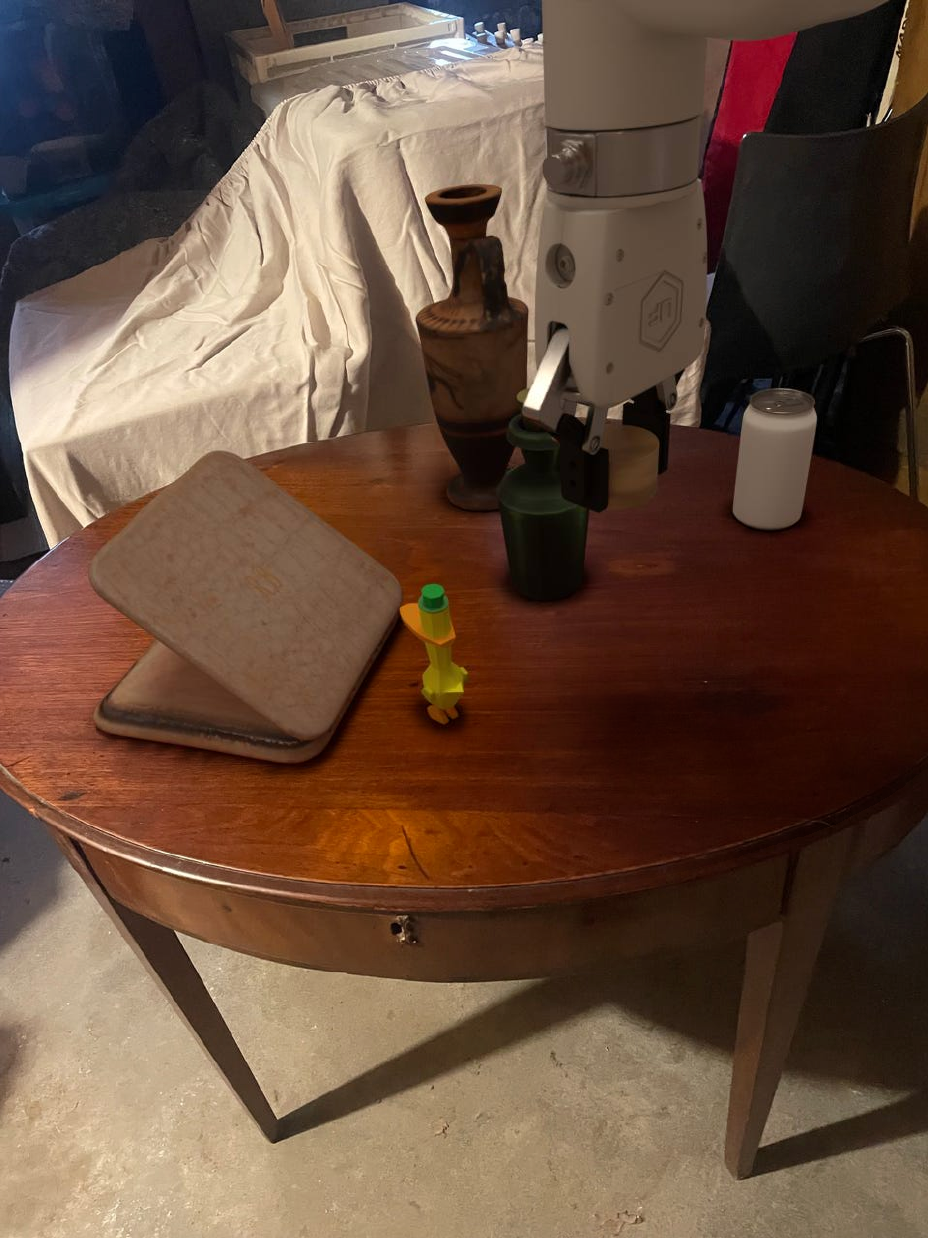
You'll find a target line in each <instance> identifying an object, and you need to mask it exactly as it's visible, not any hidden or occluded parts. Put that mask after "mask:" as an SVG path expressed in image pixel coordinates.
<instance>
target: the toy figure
mask: <svg viewBox="0 0 928 1238" xmlns="http://www.w3.org/2000/svg"><path fill="white" fill-rule="evenodd" d="M420 591H421V596H420V597H419V598H418V600H417V602H416V603H413V602H412V603H411V602H410V603H406V604H405V605H401V606H400V608H399V614H400V616H401V620H402V622H403V623H404V625H405V627H406V628H407V629H408V630H409V631H410V632H411V633H412V634H413V635H414V636H415V637H416V638H418V639H419V640H420V641H422V642H423V643H424V645H425V648H426V653H427V655H428V658H429V662H430V664H429V666H428V667H427V668H426V669H425V671H424V672H423V673H422V674H421V678H422V685H423V688H421V694H422V695H423V697H424V698H425V699H426V701H428V702H429V703H430V704H431V705H429V706H428V707H427V708H426V710H427V713H428V715H429V717H430V718H431V719H432V720H434V721H435V722H437V723H440V724H442V725H446V724H447V723H448V722H450V721H449V718H451V719H452V720H454V719H457V718H459V713H458V711H457V709H456V707H455V706H456V705H457V703H458V702H459V701H460V699H461V698H462V696H463V695H464V694H465V692H466V691H465V683H469V672H468V671H467V670H466V669H465V668H464V666H461V667H460V666H459V665H458V664H456V663H455V662H454V661H452V647H453V644H454V642H455V641H456V639H457V636H456V633H455V629H454V626H453V623H452V619H451V612H450V605H449V603H450V602H449V598H448V596H446V595H445V589H444V587H443V585H440V584H437V583H430V584H425V586H423V588H422V589H420Z"/></svg>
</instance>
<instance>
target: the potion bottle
mask: <svg viewBox="0 0 928 1238" xmlns="http://www.w3.org/2000/svg"><path fill="white" fill-rule="evenodd" d="M529 390H530V387H527V389H524V390H522V391H520V392H519V393H518V395H517V400H518V404H519V407H520V411H521V414H519V415H517V416H515V417H514V418H513V419H512V420H511V422H510V423H509V427H508V430H507V434H506V437H507V441H508V442H509V443H511V444H512V445H513V446H515V448H519V449H520V451H521V454H522V457H523V460H524V463H522V464H519V465H516V466H515V467H514V468H511V469H512V470H510V471H508V472H507V473H506V474H505V476H504V477H503V479H502V480H501V482H500V484H499V486H498V488H497V498H498V504H499V509H498V510H499V516H500V522H501V527H502V533H503V534H502V535H503V539H504V540H503V541H504V546H505V552H506V558H507V564H508V570H509V576H510V577H509V578H510V582H511V583H510V584H511V586H512V587H513V589H515V591H517V593H518V594H520V595H522V596H524V597H526V598H528V599H531V600H536V601H554V600H559V599H562V598H565V597H568V596H570V595H571V594H572V593H574V592H575V591H577V589H579V588H580V586H581V583H582V581H583V579H584V578H583V577H584V570H585V569H584V567H585V558H586V548H587V538H588V529H589V519H590V511H591V510H589V509H587V508H584V507H582V506H579V505H576V504H574V503H571V502H569V501H566V500H564V499H563V497H562V495H561V467H560V444H558V443H556V442H554V441H553V440H552V436H551V435H549V434H548V433H547V432H546V431H545V430H543V428H542V427H541V426H538V425H537V424H535V423H534V422H532V421H530V420H529V419H527V418H525V417H524V416H523V414H522V407H523V404H524V402H525V399H526V397H527V394H528V392H529Z"/></svg>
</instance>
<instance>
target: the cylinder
mask: <svg viewBox="0 0 928 1238" xmlns="http://www.w3.org/2000/svg"><path fill="white" fill-rule="evenodd" d="M601 447H602V448H605V449H609V489H608V507H607V509H605V510H604V511H624V510H630V509H635V508H638V507H641V506H644V505H645V504H647V503H649V502H650V501H652V500H653V499H654V497H655V496H656V494H657V491H658V476H659V475H658V460H659V440H658V438H657V436H656V435H655V434H653V433H652V432H650V431H648V430H646V429H643V428H640V427H636V426H630V425H622V424H606V425H605V430H604V435H603V440H602V444H601Z"/></svg>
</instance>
